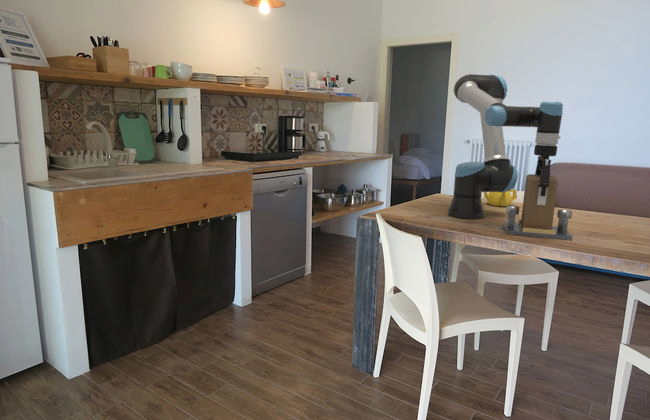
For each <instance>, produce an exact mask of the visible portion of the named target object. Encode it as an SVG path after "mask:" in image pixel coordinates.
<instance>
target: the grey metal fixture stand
mask: <svg viewBox="0 0 650 420" xmlns="http://www.w3.org/2000/svg"><path fill="white" fill-rule="evenodd" d="M572 211H573V210H571V209H562V208H561V209H559V208H558V209H557V211H556V212H557V213H556V217H557V219H558V222H557V225H556V226H555V225H552V230H551V229H540V228H529V227H523V226H522V224H521V218H520V219H518V222H516V216H517V215H519V214H520V206H518V205H510V206H509V205H507V206H505V214H507V215H508V217H507V221H504V222H503V228H504V232H505V235H509V234H511V236H520V235H523V236H522V237H530V236H532V237H534V238H543V239H552V240H562V239H563V240H564V241H572V240H573V238H572V237H573V235H572V234H571V233H570V232H569V231H568V225H569V220H571V219H572V216H573V212H572Z"/></svg>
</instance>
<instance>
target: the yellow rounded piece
mask: <svg viewBox="0 0 650 420" xmlns="http://www.w3.org/2000/svg"><path fill="white" fill-rule="evenodd" d="M511 193H512V194H511ZM483 196H484V198H485V199H486V201H487V204H489V206H493V207H506V206H507V205H509V206H511V205H512V202H513V201H515V200H516V199H518V195H517V189H516V188H513V189H512V190H510V191H507V192H483Z"/></svg>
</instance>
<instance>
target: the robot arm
mask: <svg viewBox="0 0 650 420" xmlns="http://www.w3.org/2000/svg"><path fill="white" fill-rule="evenodd" d="M507 92H508V85H507V81H506V80H505V78H503V77H502V76H501V75H496V74H488V75H487V74H474V73H473V74H472V73H471V74H465V75H463V76H461V77H459V78H458V79H457V80H456V82H455V84H454V86H453V93H454V96H455V98H456V99H457V101H460V103H463V104H468V105H469V106H470V107H472V108H473V109H475V110H476V111H478V112H479V114H480V124H481V132H482V140H483V141H482V142H483V150H484V158H485V159H484V161H483V162H482V161H468V162H462V163H459V164H457V165H456V167H455V172H454V183H453V196H452V200H451V202H450V204H449V206H448V208H447V215H448V216H451V217H454V218H457V219H466V220H475V219H476V220H479V219H483V218H484V216H485V209H484V208H483V207H484V206H483V203H482V193H484V192H487V193H489V192H507V191H510V190H514V189H515V186H516V184H517V182H518V177H519V174H518V173H519V172H518V171H519V170H518V169H517V168H516V166H514V165H512V164H511V159H510V158H509V157H508V156H507V155H506V146H505V145H506V144H505V138H504V129H503V127H513V128H515V127H517V128H518V127H519V128H522V127H523V128H537V129H536V133H535V141H534V142H535V145H534V149H533V150H534V152H533V154H534V155H535V156H538V157H537V162H536V168H535V173H534V175H540V184H539V185H538V187H539V193H538V200H537V205H545V204H546V197H547V190H548V187H549V185H550V184H549V180H550V176H551V162H552V160H551V159H550V157H556V156H557V151H558V146H557V145H558V144H559V139H561V136H560V131H561V124H562V117H563V114H564V113H563V108H564V107H563V106H564V104H563V102H561V101H542V102H540V105H539V106H511V105H506V104H504V100H505V99H506V97H507Z"/></svg>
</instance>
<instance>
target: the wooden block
mask: <svg viewBox="0 0 650 420" xmlns="http://www.w3.org/2000/svg"><path fill="white" fill-rule="evenodd" d="M558 183H559V180H558V178H557V177H555V176H554V175H550V180H549V184H550V185H549V187H548V190H547V197H546V204H545V205H537V200H538V193H539V187H538V185H539V184H540V175H535V174H531V173H530V174H527V175H526V177H525V183H524V192H523V193H524V194H523V200H522V201H523V202H522V211H521V218H520V219H521V224H522V226H523V227H529V228H540V229H551V230H552V226H553V223H554V215H555V207H556V199H557V192H558V185H559V184H558Z"/></svg>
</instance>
